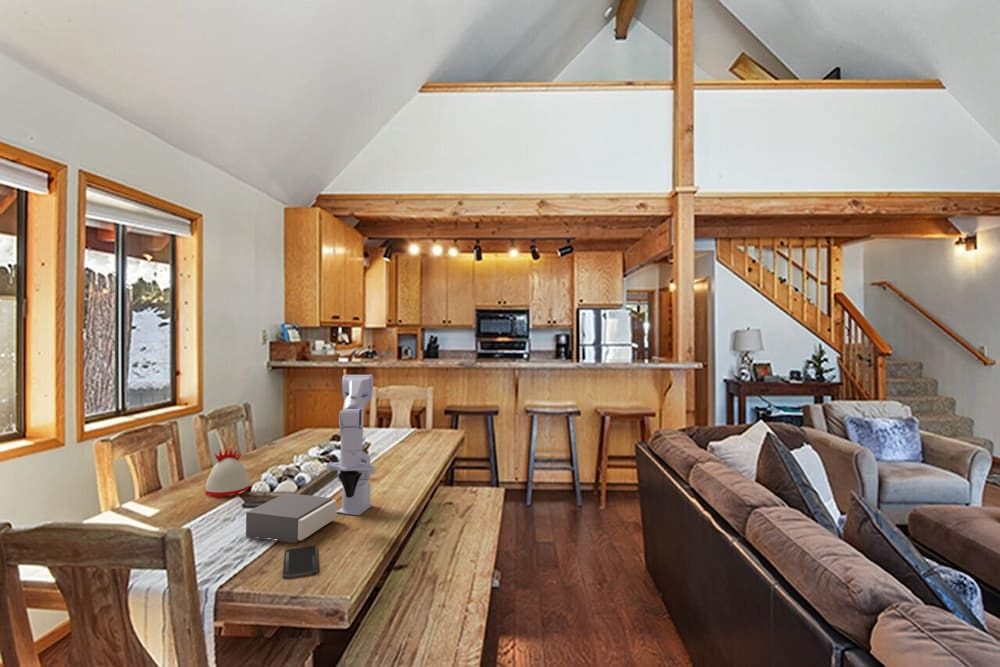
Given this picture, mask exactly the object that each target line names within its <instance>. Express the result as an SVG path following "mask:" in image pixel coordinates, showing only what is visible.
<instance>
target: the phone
mask: <svg viewBox="0 0 1000 667" xmlns="http://www.w3.org/2000/svg"><path fill="white" fill-rule="evenodd" d="M282 568H283V569H282V579H285V580H288V579H294V578H300V577H301V578H302V577H307V576H314V575H317V574H318V573H319V561H318V547H317V545H309V546H302V547H294V548H287V549H285V550H284V557H283V567H282Z"/></svg>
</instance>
